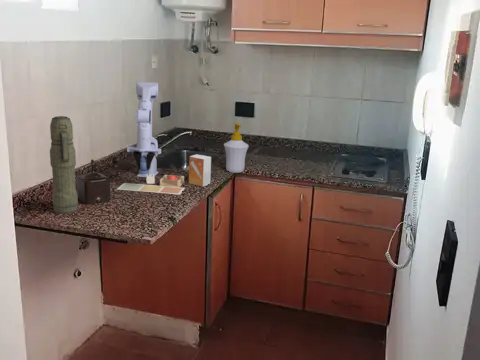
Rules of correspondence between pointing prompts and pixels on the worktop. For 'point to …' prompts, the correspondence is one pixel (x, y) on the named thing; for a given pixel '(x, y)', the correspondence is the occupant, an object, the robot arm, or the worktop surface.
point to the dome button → (172, 178)
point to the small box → (199, 170)
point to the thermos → (63, 166)
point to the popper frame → (172, 181)
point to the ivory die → (150, 178)
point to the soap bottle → (235, 152)
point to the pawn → (143, 165)
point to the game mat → (151, 188)
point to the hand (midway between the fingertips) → (144, 168)
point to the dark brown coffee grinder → (95, 184)
